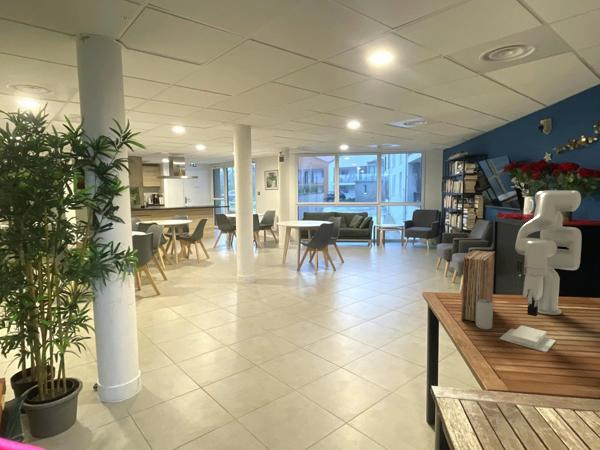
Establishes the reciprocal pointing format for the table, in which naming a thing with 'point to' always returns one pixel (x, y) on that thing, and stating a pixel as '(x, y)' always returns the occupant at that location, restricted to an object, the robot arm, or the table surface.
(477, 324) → the beverage can
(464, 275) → the book
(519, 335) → the glazed tile
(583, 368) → the table surface
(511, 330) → the mat
